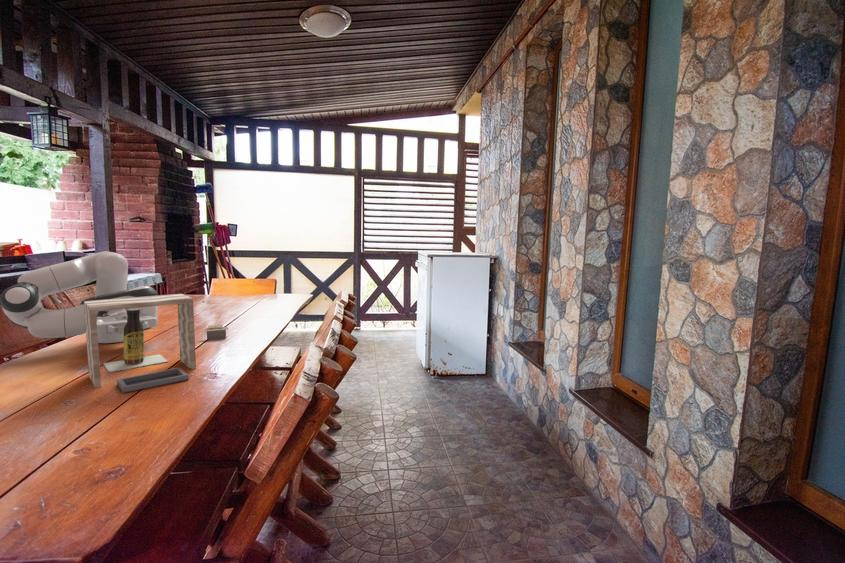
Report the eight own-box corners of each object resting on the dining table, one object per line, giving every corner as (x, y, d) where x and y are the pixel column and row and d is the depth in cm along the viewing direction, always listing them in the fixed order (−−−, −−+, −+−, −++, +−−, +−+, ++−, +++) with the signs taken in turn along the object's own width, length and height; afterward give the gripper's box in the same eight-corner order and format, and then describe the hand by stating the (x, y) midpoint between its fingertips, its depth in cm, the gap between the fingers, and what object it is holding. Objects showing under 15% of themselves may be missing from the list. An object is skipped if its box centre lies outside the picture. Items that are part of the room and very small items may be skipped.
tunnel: (89, 376, 144) (83, 301, 141) (184, 359, 164) (181, 293, 161) (95, 387, 134) (89, 307, 131) (196, 368, 154) (193, 298, 151)
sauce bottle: (128, 366, 154) (124, 311, 152) (121, 362, 158) (118, 309, 155) (148, 362, 159) (145, 309, 157) (141, 358, 163) (138, 307, 161)
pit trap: (117, 384, 137) (116, 379, 137) (179, 372, 149) (179, 367, 149) (123, 393, 130) (122, 387, 130) (188, 380, 142) (188, 374, 142)
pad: (103, 364, 157) (103, 363, 157) (159, 355, 169) (159, 354, 169) (109, 372, 148) (108, 371, 148) (167, 362, 161) (167, 361, 161)
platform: (194, 338, 198) (193, 324, 197) (236, 334, 206) (236, 321, 206) (194, 344, 187) (193, 329, 187) (239, 340, 196) (238, 326, 195)
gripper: (153, 326, 180) (162, 332, 170) (92, 333, 166) (98, 340, 156) (152, 311, 179) (161, 316, 169) (91, 317, 165) (96, 323, 155)
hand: (130, 328), depth 162 cm, fingers open, 8 cm apart
